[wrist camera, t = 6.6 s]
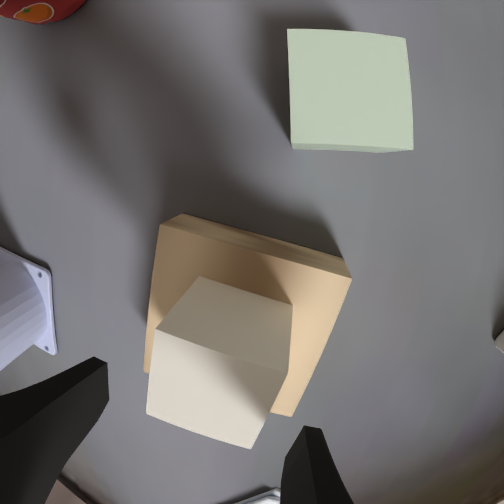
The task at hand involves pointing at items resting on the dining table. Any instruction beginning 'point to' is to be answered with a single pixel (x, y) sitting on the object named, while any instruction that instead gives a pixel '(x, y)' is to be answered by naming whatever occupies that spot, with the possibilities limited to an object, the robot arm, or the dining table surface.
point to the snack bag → (264, 498)
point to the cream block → (220, 361)
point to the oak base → (252, 286)
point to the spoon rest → (500, 342)
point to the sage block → (349, 91)
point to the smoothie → (38, 10)
